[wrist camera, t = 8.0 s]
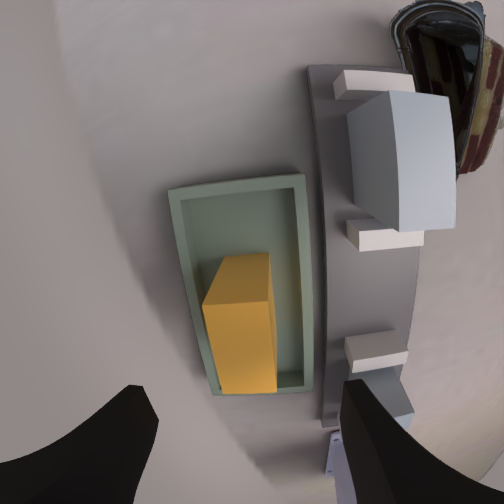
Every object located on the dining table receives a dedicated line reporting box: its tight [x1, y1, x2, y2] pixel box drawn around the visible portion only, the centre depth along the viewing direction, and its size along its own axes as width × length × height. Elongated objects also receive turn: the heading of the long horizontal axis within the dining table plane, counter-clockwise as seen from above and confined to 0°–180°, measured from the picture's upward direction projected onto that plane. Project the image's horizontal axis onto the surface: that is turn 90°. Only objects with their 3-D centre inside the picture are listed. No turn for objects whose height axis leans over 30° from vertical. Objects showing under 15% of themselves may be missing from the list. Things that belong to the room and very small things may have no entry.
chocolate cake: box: [389, 0, 504, 182], centre depth 12 cm, size 10×7×12 cm
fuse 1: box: [346, 90, 456, 232], centre depth 11 cm, size 5×3×6 cm, turn 7°
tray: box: [168, 173, 314, 396], centre depth 17 cm, size 14×7×2 cm, turn 7°
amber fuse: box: [202, 252, 277, 394], centre depth 15 cm, size 5×3×6 cm, turn 7°
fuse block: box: [306, 65, 424, 441], centre depth 16 cm, size 26×6×4 cm, turn 7°
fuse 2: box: [348, 366, 415, 432], centre depth 16 cm, size 5×3×6 cm, turn 7°
